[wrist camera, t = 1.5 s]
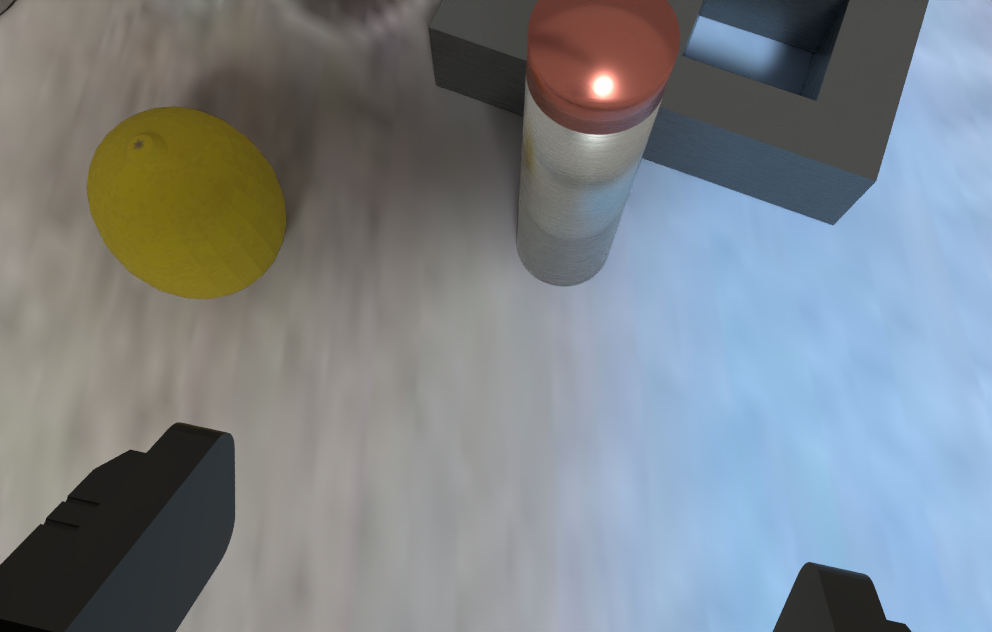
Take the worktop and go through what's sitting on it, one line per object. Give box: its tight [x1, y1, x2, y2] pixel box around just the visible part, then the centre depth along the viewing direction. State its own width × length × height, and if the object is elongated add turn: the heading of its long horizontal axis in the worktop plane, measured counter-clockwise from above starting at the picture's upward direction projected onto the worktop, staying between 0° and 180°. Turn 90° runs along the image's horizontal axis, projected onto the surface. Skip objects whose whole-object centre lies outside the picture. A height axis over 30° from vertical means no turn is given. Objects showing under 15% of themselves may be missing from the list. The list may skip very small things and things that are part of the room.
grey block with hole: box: [429, 0, 929, 225], centre depth 30 cm, size 16×9×4 cm, turn 68°
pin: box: [517, 0, 680, 286], centre depth 23 cm, size 3×3×12 cm
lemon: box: [87, 107, 286, 299], centre depth 25 cm, size 6×6×8 cm
